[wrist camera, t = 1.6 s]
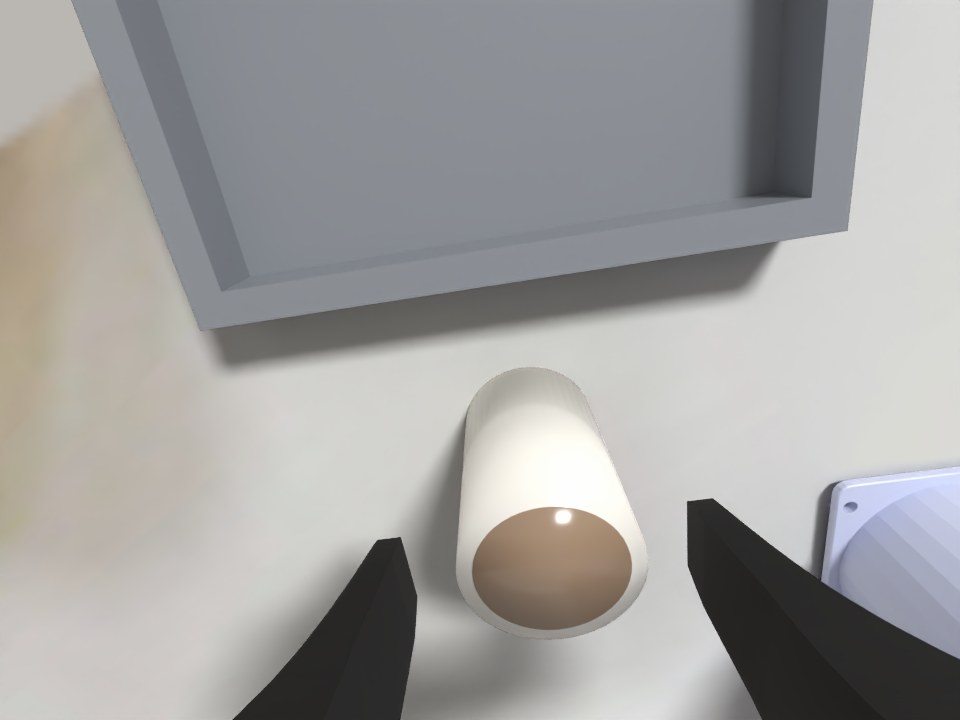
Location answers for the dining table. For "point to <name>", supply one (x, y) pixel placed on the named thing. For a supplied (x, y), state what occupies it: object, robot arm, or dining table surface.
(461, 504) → the cup
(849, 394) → the dining table surface
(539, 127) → the tray
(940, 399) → the dining table surface
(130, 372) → the dining table surface
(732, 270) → the dining table surface
